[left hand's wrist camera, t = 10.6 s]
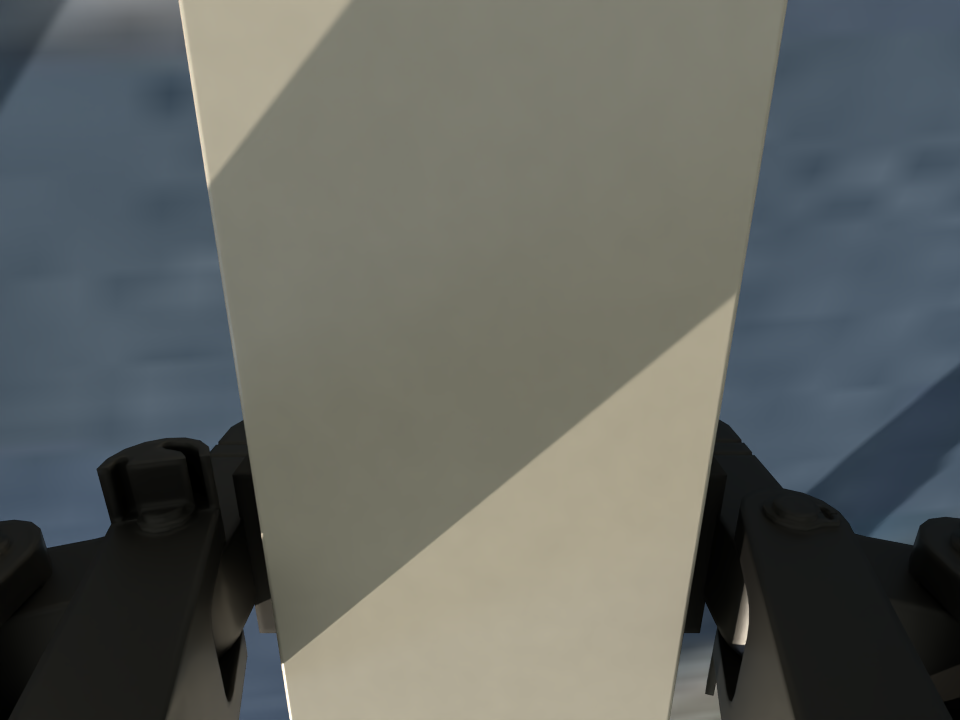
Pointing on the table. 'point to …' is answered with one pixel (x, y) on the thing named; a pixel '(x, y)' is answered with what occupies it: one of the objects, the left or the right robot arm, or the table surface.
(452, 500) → the bar
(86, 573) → the left robot arm
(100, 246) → the table surface
